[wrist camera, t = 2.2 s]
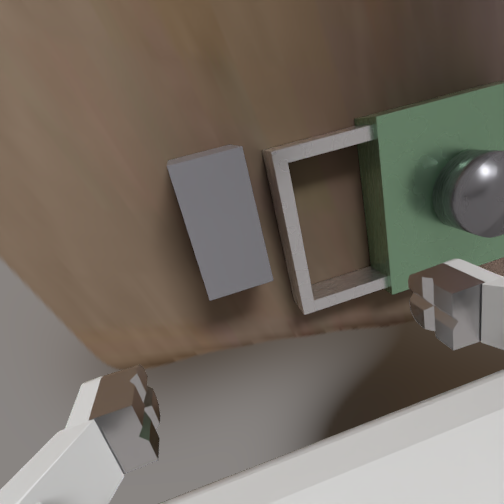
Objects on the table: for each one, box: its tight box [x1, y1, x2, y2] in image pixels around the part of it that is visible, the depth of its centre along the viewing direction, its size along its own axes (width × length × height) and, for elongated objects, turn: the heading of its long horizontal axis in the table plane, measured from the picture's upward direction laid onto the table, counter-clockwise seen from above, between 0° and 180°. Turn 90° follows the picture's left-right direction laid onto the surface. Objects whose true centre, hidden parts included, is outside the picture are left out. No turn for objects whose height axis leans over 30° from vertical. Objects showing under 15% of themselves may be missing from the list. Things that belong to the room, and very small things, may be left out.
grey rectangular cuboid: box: [167, 145, 273, 301], centre depth 24 cm, size 9×4×5 cm, turn 14°
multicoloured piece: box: [262, 81, 504, 315], centre depth 26 cm, size 14×20×6 cm
